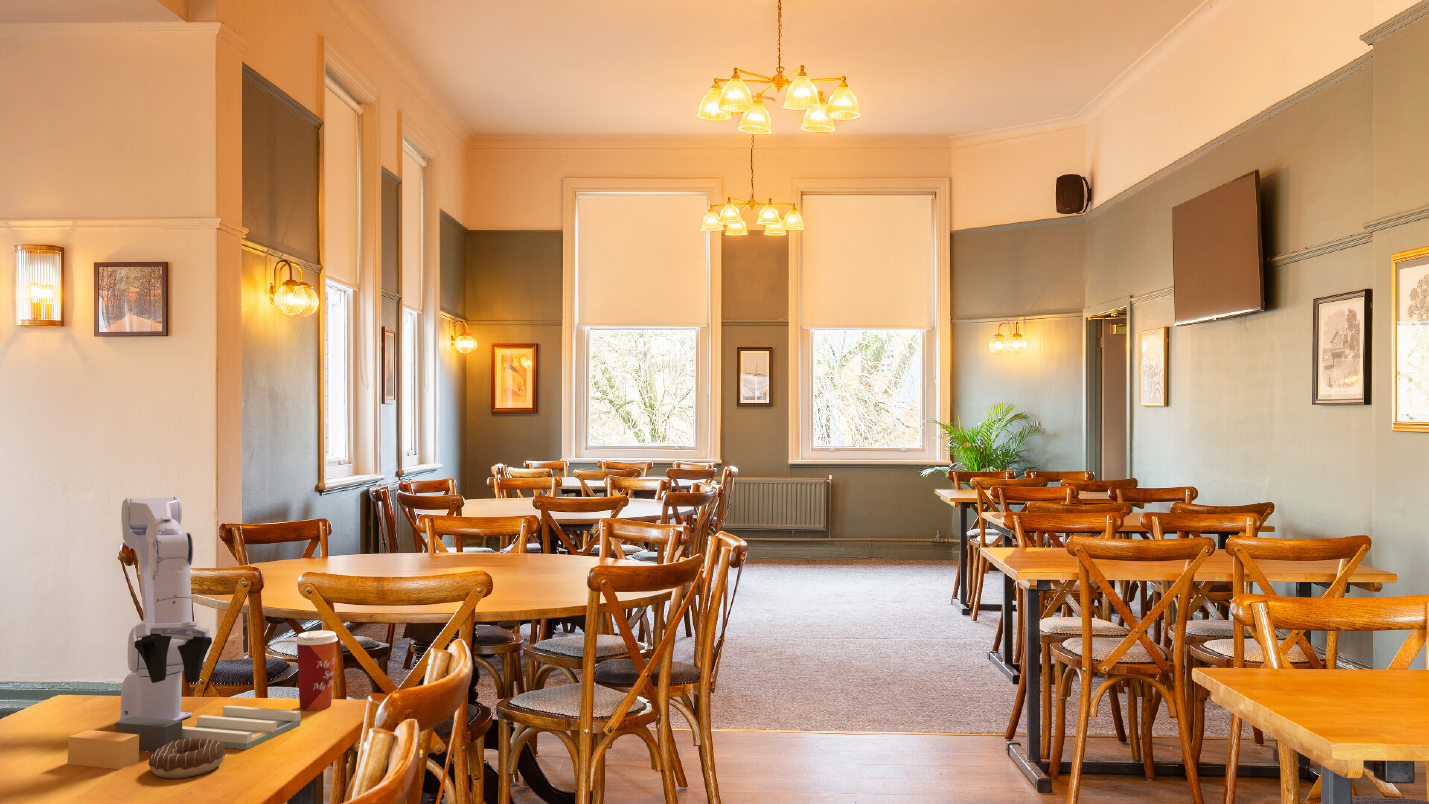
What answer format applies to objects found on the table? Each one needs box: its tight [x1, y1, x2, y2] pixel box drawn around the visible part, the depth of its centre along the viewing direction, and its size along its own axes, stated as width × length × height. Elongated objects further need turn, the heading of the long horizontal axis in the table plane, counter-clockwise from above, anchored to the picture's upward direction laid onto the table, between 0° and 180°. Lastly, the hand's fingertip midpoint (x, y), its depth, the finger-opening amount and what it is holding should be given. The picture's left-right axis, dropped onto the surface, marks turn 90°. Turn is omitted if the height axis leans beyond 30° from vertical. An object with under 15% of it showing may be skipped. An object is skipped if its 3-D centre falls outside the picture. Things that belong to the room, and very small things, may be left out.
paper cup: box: [295, 629, 339, 712], centre depth 188 cm, size 8×8×14 cm
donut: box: [148, 738, 227, 779], centre depth 153 cm, size 11×11×4 cm
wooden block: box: [67, 729, 140, 770], centre depth 156 cm, size 10×4×4 cm, turn 77°
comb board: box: [182, 704, 301, 750], centre depth 171 cm, size 15×14×2 cm
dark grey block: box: [114, 716, 183, 754], centre depth 163 cm, size 10×4×4 cm, turn 76°
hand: (175, 681), depth 164 cm, fingers open, 7 cm apart
